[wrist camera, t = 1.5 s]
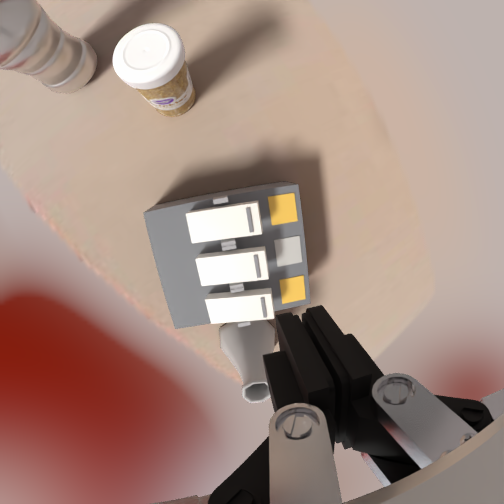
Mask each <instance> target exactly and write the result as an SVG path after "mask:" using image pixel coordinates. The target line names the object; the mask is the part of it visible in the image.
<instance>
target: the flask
mask: <svg viewBox="0 0 504 504" xmlns="http://www.w3.org/2000/svg"><path fill="white" fill-rule="evenodd" d="M250 324H251V325H248V326H243V327H238V324H237V322H228V323H227V324H225V325H224V326H222V327H221V328H219V335H220V348H221V349H222V351H223V352H224V353H225V355H226V356H227V357H228V358H229V360H230V361H231V362H232V364H233V365H234V367H235V368H236V369H237V371H238V372H239V374H240V376H241V379H242V381H243V385H242V397H243V398H244V399H246V400H247V401H248V402H250V403H257V402H264V401H266V400H267V399H269V398H271V396H270V392H269V388H268V383H267V378H266V373H265V368H264V362H263V356H262V355H264V354H269V353H273V351H274V344H275V329H274V327H273V326H272V325H271V324H270V323H269V322H268V321H267V320H254V321H250Z"/></svg>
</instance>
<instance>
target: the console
mask: <svg viewBox="0 0 504 504" xmlns="http://www.w3.org/2000/svg"><path fill="white" fill-rule="evenodd" d="M251 201H258V202H259V209H260V215H261V222H262V228H263V232H262V234H260V235H252V236H245V237H237V238H229V239H221V240H214V241H206V242H199V243H192V241H191V237H190V232H189V227H188V223H187V218H186V213H188V212H189V211H193V210H199V209H205V208H211V207H218V206H224V205H231V204H237V203H244V202H251ZM144 218H145V222H146V226H147V231H148V235H149V239H150V243H151V247H152V251H153V255H154V259H155V262H156V266H157V270H158V273H159V277H160V281H161V284H162V288H163V291H164V294H165V298H166V301H167V304H168V308H169V311H170V314H171V317H172V320H173V323H174V326H175V329H178V328H185V327H191V326H197V325H203V324H209V323H211V321H210V317H209V313H208V309H207V305H206V301H205V299H206V297H207V295H208V294H212V293H223V292H231V293H235V292H240V291H244V290H254V289H264V288H271V290H272V297H273V304H274V311H278V310H283V309H288V308H292V307H297V306H301V305H306V304H310V290H309V278H308V267H307V257H306V246H305V237H304V228H303V219H302V210H301V202H300V194H299V186H298V184H295V183H291V182H287V181H283V182H277V183H270V184H263V185H257V186H251V187H245V188H239V189H233V190H228V191H222V192H217V193H211V194H206V195H201V196H196V197H191V198H186V199H181V200H176V201H171V202H167V203H162V204H158V205H154V206H153V207H151V208H150V209H148V210H147V211H145V212H144ZM262 246H265V249H266V255H267V262H268V269H269V279H266V280H257V281H248V282H238V283H228V284H218V285H207V286H202V285H201V281H200V277H199V272H198V268H197V264H196V257H197V256H198V255H199V254H205V253H213V252H221V251H229V250H238V249H246V248H254V247H262ZM237 324H238V327H243V326H248V325H251V324H250V321H242V322H237Z"/></svg>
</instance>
